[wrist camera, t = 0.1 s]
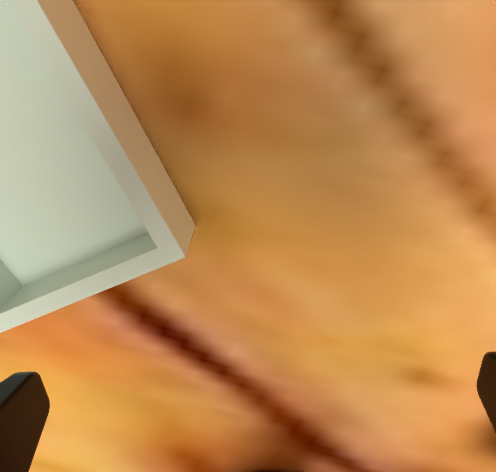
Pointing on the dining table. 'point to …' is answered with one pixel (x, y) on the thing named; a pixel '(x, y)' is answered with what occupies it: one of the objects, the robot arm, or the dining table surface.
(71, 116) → the tray
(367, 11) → the dining table surface
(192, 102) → the dining table surface
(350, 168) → the dining table surface
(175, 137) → the dining table surface
